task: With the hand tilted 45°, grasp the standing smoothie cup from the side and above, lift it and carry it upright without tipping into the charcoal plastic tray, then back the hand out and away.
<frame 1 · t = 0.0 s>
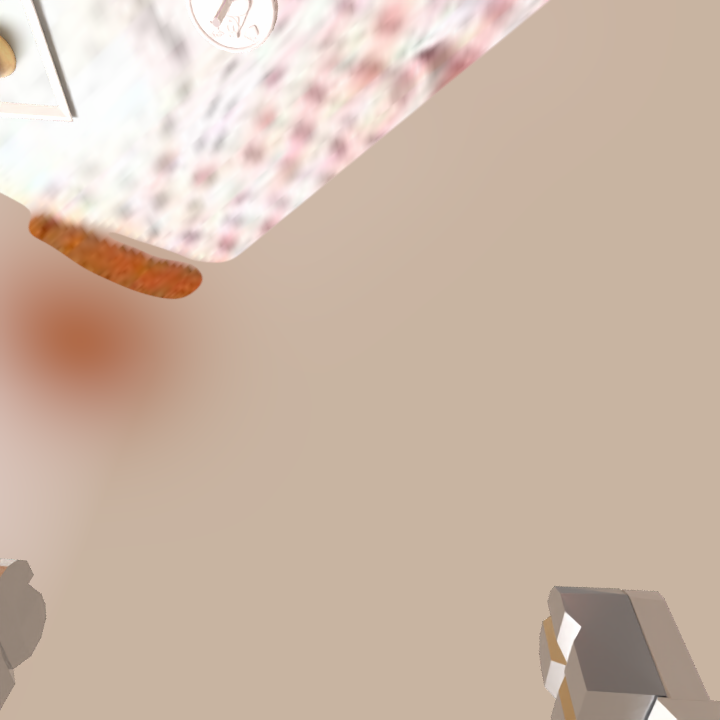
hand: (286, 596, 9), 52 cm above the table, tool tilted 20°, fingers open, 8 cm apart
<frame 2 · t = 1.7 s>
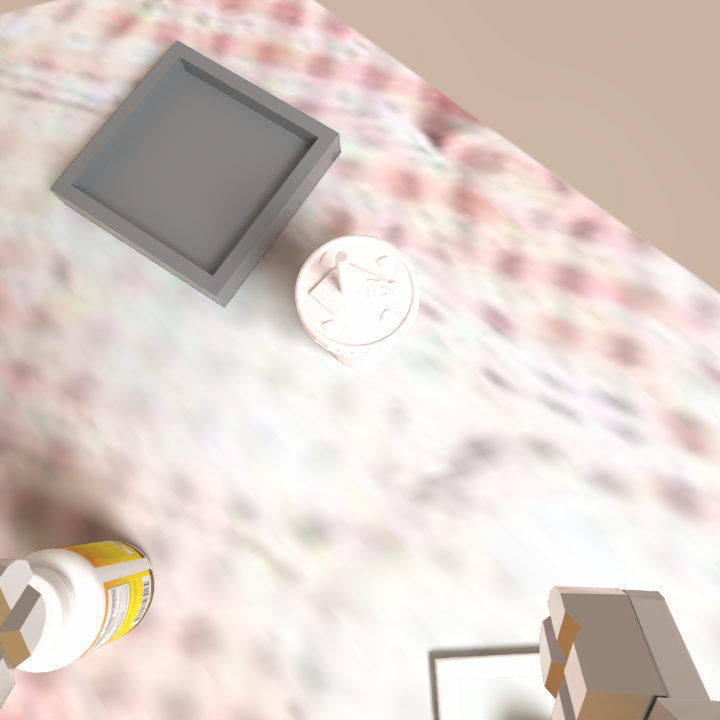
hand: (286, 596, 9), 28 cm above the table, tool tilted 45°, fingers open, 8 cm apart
smoothie: (360, 343, 40), on the table
tray: (204, 178, 43), on the table
supplement bottle: (114, 587, 36), on the table
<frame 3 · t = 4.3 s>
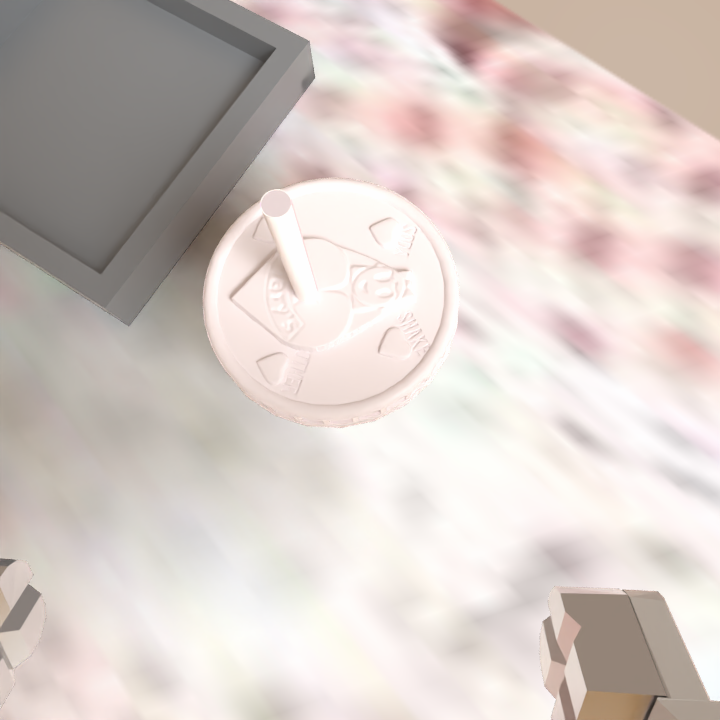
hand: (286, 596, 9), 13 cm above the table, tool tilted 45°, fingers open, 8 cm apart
smoothie: (351, 379, 24), on the table
tray: (102, 123, 27), on the table
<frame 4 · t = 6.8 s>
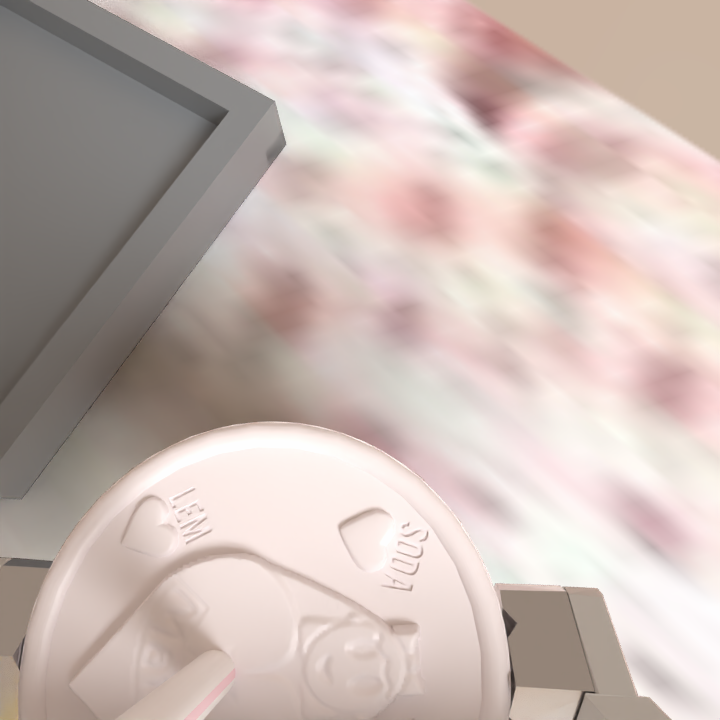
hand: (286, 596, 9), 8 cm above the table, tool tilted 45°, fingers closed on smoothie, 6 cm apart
smoothie: (330, 583, 17), on the table, touching gripper
tray: (0, 206, 20), on the table
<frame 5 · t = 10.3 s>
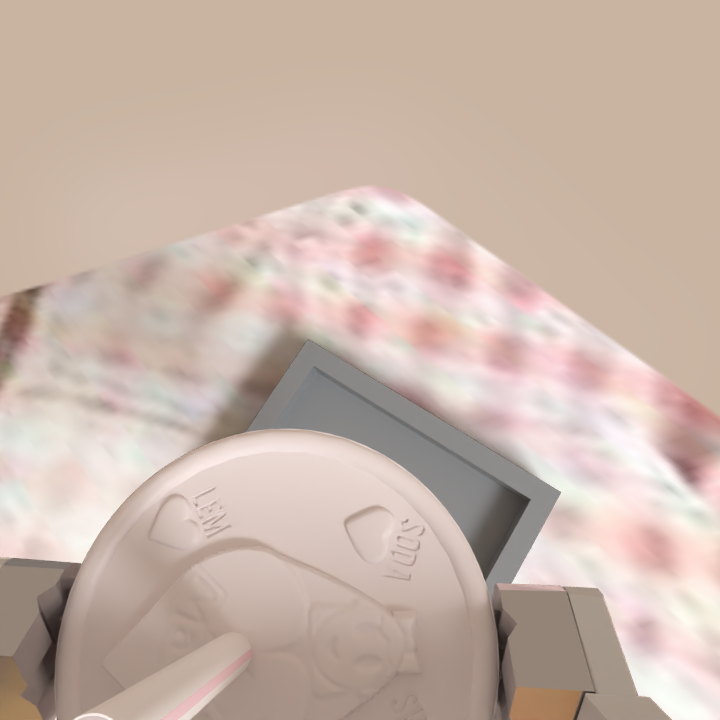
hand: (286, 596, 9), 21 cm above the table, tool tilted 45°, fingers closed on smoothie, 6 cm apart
smoothie: (332, 593, 18), point 12 cm above the table, touching gripper
tray: (353, 539, 30), on the table
when the fingers open (10 cm above the table, at t = 13.6 s): smoothie stays where it is, resting on tray.
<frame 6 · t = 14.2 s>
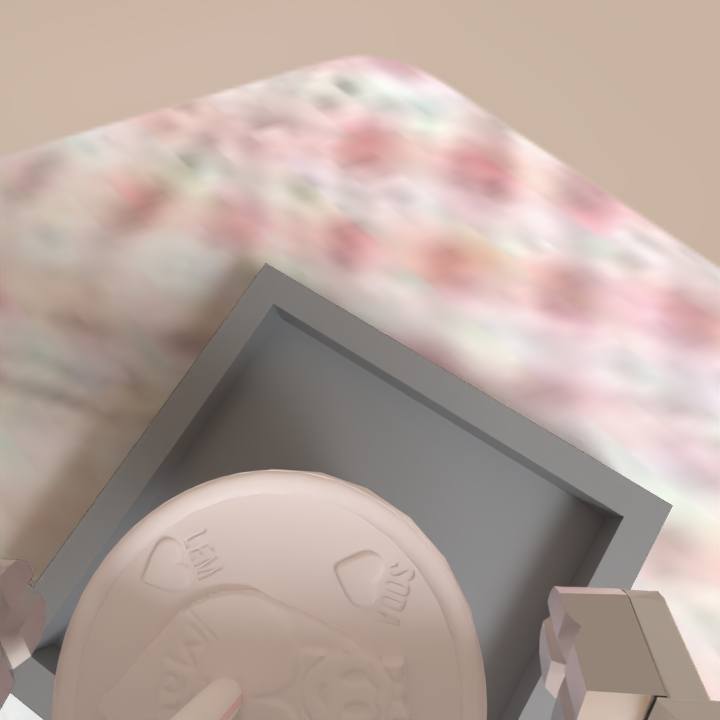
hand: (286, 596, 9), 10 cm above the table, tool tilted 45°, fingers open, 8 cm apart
smoothie: (334, 597, 18), point 1 cm above the table, touching tray
tray: (334, 576, 19), on the table
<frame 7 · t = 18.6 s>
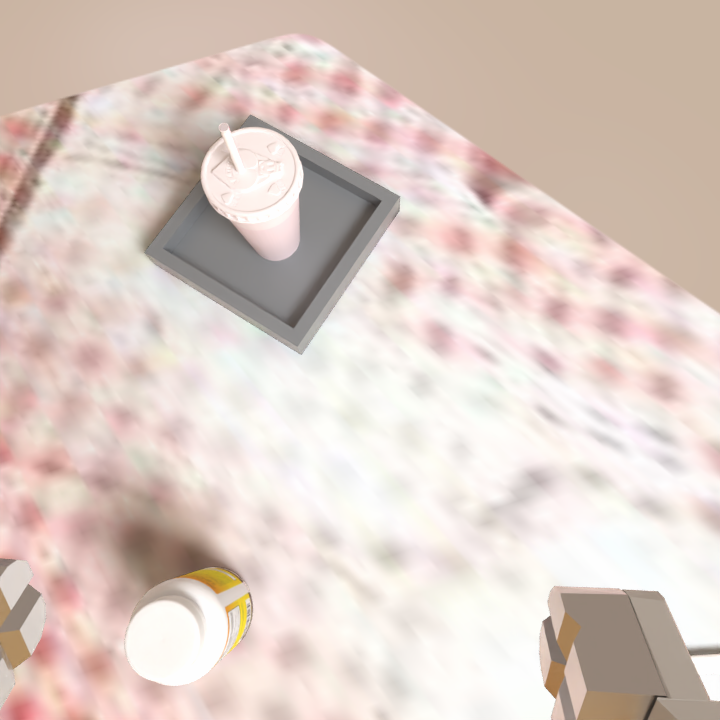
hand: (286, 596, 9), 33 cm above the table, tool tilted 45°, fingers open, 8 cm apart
smoothie: (276, 240, 47), point 1 cm above the table, touching tray
tray: (277, 237, 48), on the table
supplement bottle: (215, 608, 41), on the table
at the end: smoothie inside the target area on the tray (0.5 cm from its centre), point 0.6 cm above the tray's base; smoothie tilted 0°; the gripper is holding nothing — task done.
